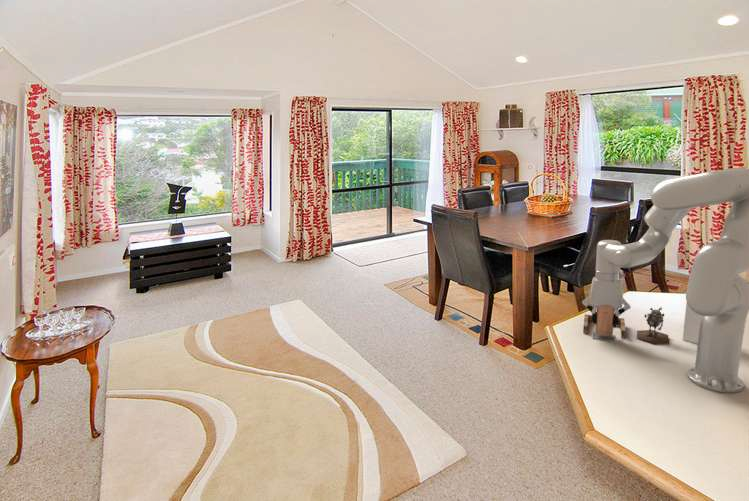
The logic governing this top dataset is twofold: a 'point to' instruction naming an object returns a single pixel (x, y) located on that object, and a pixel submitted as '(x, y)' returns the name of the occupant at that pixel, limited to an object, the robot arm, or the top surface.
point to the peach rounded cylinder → (604, 321)
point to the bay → (589, 320)
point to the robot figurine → (651, 335)
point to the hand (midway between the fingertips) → (604, 323)
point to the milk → (691, 325)
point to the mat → (604, 337)
